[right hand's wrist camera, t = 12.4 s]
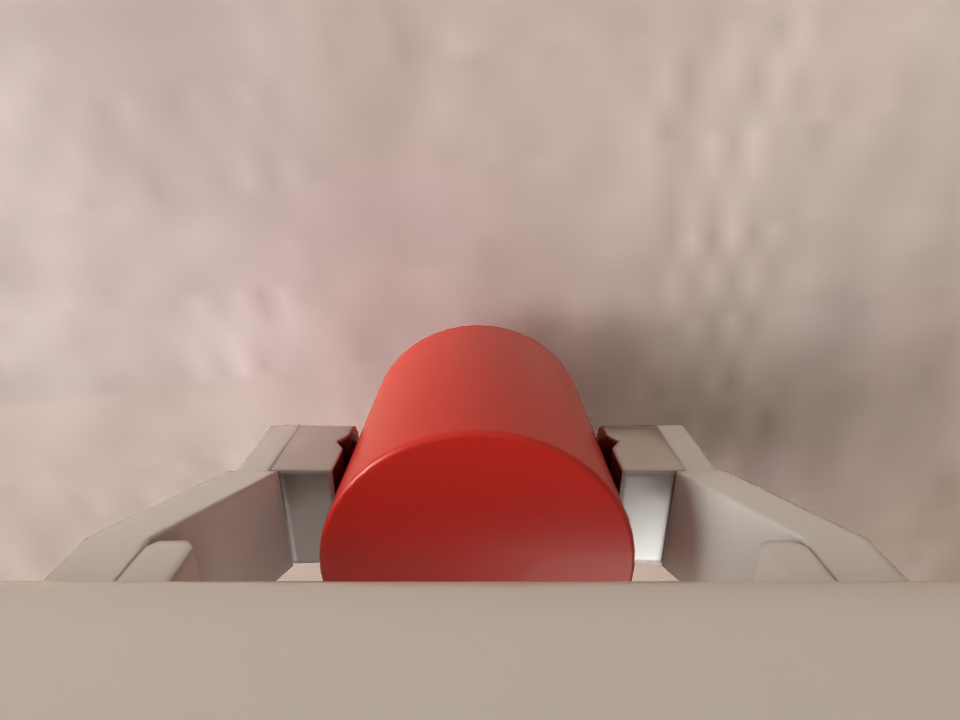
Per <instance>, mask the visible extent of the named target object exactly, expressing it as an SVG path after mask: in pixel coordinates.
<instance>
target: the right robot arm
mask: <svg viewBox="0 0 960 720" xmlns="http://www.w3.org/2000/svg"><path fill="white" fill-rule="evenodd" d="M358 440H359V437H358V431H357V429H356V427H355V426H310V425H303V426H301V425H276V426H271V427H270V428H269V430H268V431H267V432H266V434H265V435H264V436H263V438H262V439H261V440H260V442H259V443H258V444H257V446H256V447H255V448H254V450H253V451H252V452H251V453H250V455H249V456H248V457H247V459H246V460H245V461H244V463H243V464H242V465H241V467H240V468H239V469H238V471H228V472H226V473H223V474H221V475H219V476H217V477H215V478H213V479H211V480H209V481H207V482H204V483H202V484H200V485H198V486H196V487H194V488H192V489H190V490H188V491H185V492H183V493H181V494H179V495H177V496H175V497H173V498H171V499H169V500H166V501H164V502H162V503H160V504H158V505H156V506H154V507H152V508H150V509H147V510H145V511H143V512H141V513H139V514H137V515H135V516H133V517H131V518H128V519H126V520H124V521H122V522H120V523H118V524H116V525H114V526H112V527H110V528H107V529H105V530H103V531H101V532H99V533H97V534H95V535H93V536H91V537H88V538H86V539H85V540H84V541H83V542H82V543H81V544H80V545H79V546H78V547H77V548H76V549H75V550H74V551H73V552H72V553H71V554H70V555H69V556H68V557H67V558H66V559H65V560H64V561H63V562H62V563H61V564H60V565H59V566H58V567H57V568H56V569H55V570H54V571H53V572H52V573H51V574H50V575H49V576H48V577H47V578H46V579H45V580H44V581H0V720H960V581H909V580H908V579H907V578H906V577H905V576H904V575H903V574H902V573H901V572H900V571H899V570H898V569H897V568H896V567H895V566H894V565H893V564H892V563H891V562H890V561H889V560H888V559H887V558H886V557H885V556H884V555H883V554H882V553H881V552H880V551H879V550H878V549H877V548H876V547H875V546H874V545H873V544H872V543H871V542H870V541H869V540H868V539H866V538H864V537H862V536H860V535H858V534H856V533H854V532H852V531H850V530H848V529H846V528H844V527H841V526H839V525H837V524H835V523H833V522H831V521H829V520H827V519H825V518H823V517H821V516H819V515H816V514H814V513H812V512H810V511H808V510H806V509H804V508H802V507H800V506H798V505H796V504H794V503H791V502H789V501H787V500H785V499H783V498H781V497H779V496H777V495H775V494H773V493H771V492H769V491H766V490H764V489H762V488H760V487H758V486H756V485H754V484H752V483H750V482H748V481H746V480H744V479H741V478H739V477H737V476H735V475H733V474H731V473H729V472H727V471H717V470H716V468H715V467H714V466H713V464H712V463H711V462H710V460H709V459H708V458H707V456H706V455H705V454H704V452H703V451H702V450H701V448H700V447H699V446H698V444H697V443H696V442H695V440H694V439H693V438H692V436H691V435H690V434H689V432H688V431H687V430H686V428H685V427H684V426H681V425H660V426H656V425H642V426H602V427H599V430H598V434H597V441H598V444H599V446H600V449H601V451H602V454H603V456H604V459H605V461H606V464H607V466H608V469H609V471H610V474H611V476H612V479H613V481H614V483H615V486H616V488H617V491H618V493H619V496H620V498H621V501H622V503H623V506H624V508H625V511H626V513H627V516H628V519H629V522H630V525H631V528H632V532H633V538H634V545H635V562H637V563H662V566H663V567H664V568H665V569H666V570H668V571H669V572H670V573H671V574H672V575H673V576H674V577H675V578H677V579H678V580H679V581H276V580H277V579H279V578H280V577H281V576H282V575H283V574H284V573H285V572H286V571H288V570H289V569H290V568H291V567H292V566H293V563H318V562H320V556H319V550H320V540H321V534H322V530H323V526H324V523H325V519H326V517H327V514H328V512H329V510H330V507H331V505H332V502H333V500H334V497H335V495H336V493H337V490H338V488H339V485H340V483H341V481H342V478H343V476H344V473H345V471H346V469H347V466H348V464H349V461H350V459H351V456H352V454H353V452H354V449H355V447H356V444H357V442H358Z"/></svg>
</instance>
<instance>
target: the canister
mask: <svg viewBox="0 0 960 720" xmlns="http://www.w3.org/2000/svg"><path fill="white" fill-rule="evenodd" d="M319 556H320V569H321V574H322V578H323V581H631V580H632V575H633V570H634V564H635V545H634V538H633V532H632V528H631V525H630V522H629V519H628V516H627V513H626V511H625V508H624V506H623V503H622V501H621V498H620V496H619V493H618V491H617V488H616V486H615V483H614V481H613V479H612V476H611V474H610V471H609V469H608V466H607V464H606V461H605V459H604V456H603V454H602V451H601V449H600V446H599V444H598V441H597V439H596V436H595V434H594V431H593V429H592V427H591V424H590V422H589V419H588V417H587V414H586V412H585V409H584V407H583V404H582V402H581V399H580V397H579V394H578V392H577V389H576V387H575V385H574V383H573V381H572V379H571V377H570V375H569V373H568V372H567V370H566V369H565V367H564V366H563V365H562V363H561V362H560V361H559V360H558V359H557V358H556V357H555V356H554V355H553V354H552V353H551V352H550V351H549V350H547V349H546V348H545V347H544V346H542V345H541V344H539V343H537V342H536V341H534V340H533V339H531V338H529V337H527V336H524V335H522V334H520V333H517V332H514V331H511V330H508V329H504V328H499V327H493V326H478V325H475V326H462V327H457V328H452V329H447V330H444V331H442V332H439V333H436V334H433V335H431V336H429V337H427V338H425V339H423V340H421V341H420V342H418V343H417V344H415V345H414V346H412V347H411V348H409V349H408V350H407V351H406V352H405V353H404V354H403V355H401V356H400V357H399V359H398V360H397V361H396V362H395V363H394V364H393V366H392V367H391V368H390V370H389V371H388V373H387V375H386V376H385V378H384V380H383V382H382V385H381V387H380V389H379V391H378V394H377V396H376V399H375V401H374V403H373V406H372V408H371V411H370V413H369V415H368V418H367V420H366V423H365V425H364V428H363V430H362V432H361V435H360V437H359V440H358V442H357V444H356V447H355V449H354V452H353V454H352V456H351V459H350V461H349V464H348V466H347V469H346V471H345V473H344V476H343V478H342V481H341V483H340V485H339V488H338V490H337V493H336V495H335V497H334V500H333V502H332V505H331V507H330V510H329V512H328V514H327V517H326V519H325V523H324V526H323V530H322V534H321V540H320V550H319Z"/></svg>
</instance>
